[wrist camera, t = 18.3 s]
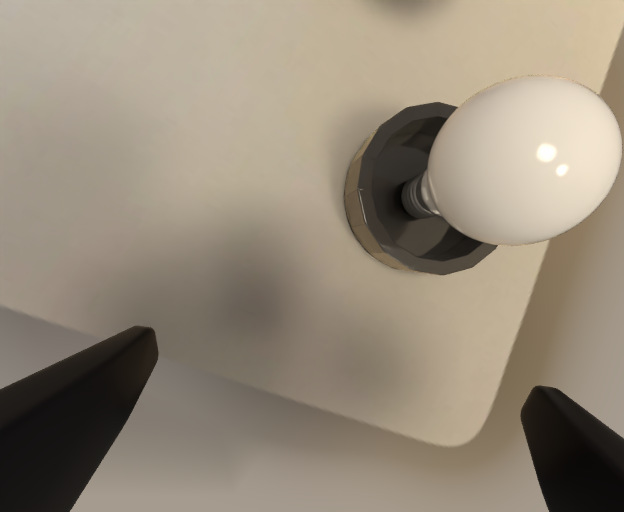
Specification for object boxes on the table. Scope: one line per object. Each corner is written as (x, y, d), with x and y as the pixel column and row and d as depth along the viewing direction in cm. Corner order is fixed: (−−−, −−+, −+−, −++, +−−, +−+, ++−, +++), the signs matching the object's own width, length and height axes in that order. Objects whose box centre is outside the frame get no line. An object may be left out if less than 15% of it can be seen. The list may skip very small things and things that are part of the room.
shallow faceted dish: (437, 297, 21) (465, 305, 18) (316, 220, 20) (326, 214, 17) (504, 177, 22) (542, 166, 19) (392, 94, 21) (414, 68, 18)
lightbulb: (474, 174, 21) (702, 91, 10) (441, 263, 21) (640, 274, 10) (390, 132, 20) (543, -8, 9) (354, 225, 20) (469, 192, 9)
